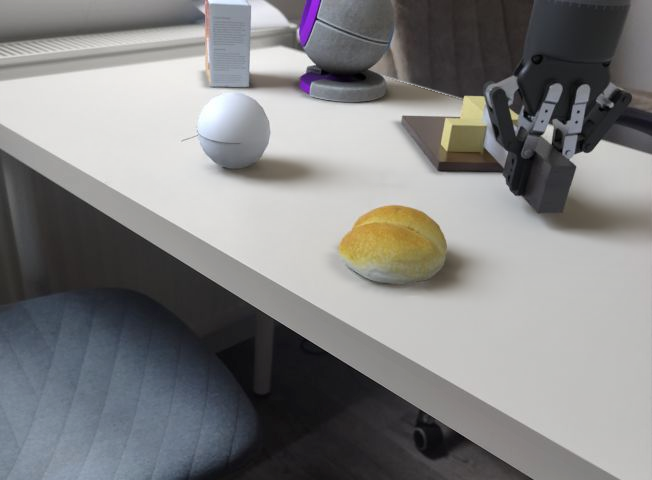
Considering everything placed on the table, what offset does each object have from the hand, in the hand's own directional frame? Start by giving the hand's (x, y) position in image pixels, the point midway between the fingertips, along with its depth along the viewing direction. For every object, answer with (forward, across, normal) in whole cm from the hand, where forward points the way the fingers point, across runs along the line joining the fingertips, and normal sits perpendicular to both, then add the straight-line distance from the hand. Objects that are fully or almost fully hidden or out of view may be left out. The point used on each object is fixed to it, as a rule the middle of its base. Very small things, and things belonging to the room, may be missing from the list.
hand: (531, 192), depth 67 cm
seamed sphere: (+2, -29, +10) cm, 31 cm away
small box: (+2, -27, +44) cm, 51 cm away
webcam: (+2, -11, +41) cm, 42 cm away
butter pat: (+1, -2, +14) cm, 14 cm away
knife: (0, 0, +5) cm, 5 cm away
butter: (+1, +3, +20) cm, 20 cm away
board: (+2, +1, +18) cm, 18 cm away
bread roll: (+2, -16, -10) cm, 19 cm away
